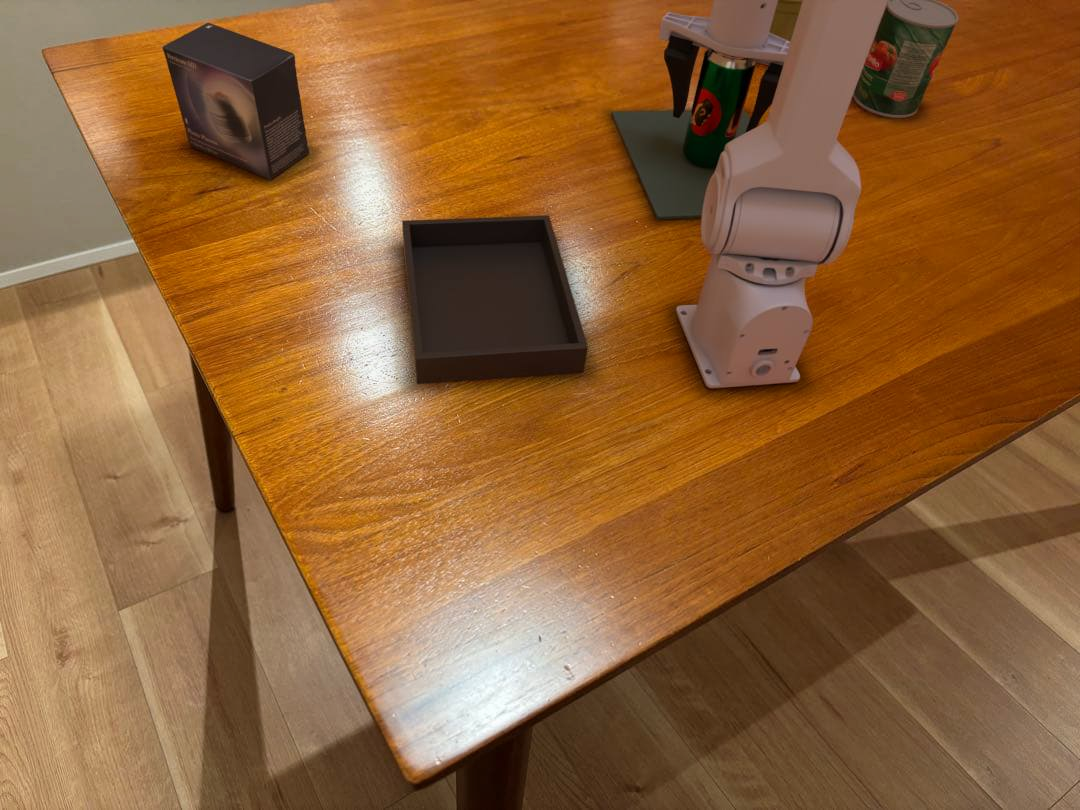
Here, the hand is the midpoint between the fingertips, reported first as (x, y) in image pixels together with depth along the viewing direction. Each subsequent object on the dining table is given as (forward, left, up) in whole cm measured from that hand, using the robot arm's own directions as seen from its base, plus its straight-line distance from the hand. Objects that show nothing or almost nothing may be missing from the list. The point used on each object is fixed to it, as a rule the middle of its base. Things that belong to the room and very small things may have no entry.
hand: (713, 123), depth 84 cm
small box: (+4, +47, -5) cm, 47 cm away
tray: (-21, +26, -4) cm, 34 cm away
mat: (0, 0, -4) cm, 4 cm away
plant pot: (+24, -16, -4) cm, 29 cm away
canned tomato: (+12, -27, -5) cm, 30 cm away
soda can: (0, 0, -4) cm, 4 cm away
